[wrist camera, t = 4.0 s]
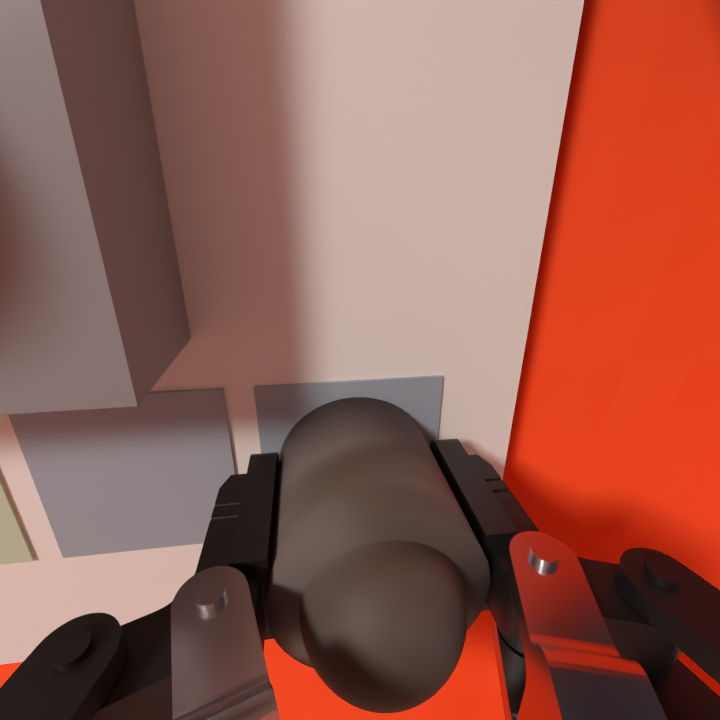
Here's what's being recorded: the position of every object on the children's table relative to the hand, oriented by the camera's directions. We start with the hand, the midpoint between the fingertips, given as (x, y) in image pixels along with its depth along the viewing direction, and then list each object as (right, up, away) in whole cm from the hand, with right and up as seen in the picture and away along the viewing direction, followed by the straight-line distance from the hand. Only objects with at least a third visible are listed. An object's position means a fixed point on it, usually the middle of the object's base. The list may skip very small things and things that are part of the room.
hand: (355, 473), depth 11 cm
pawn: (0, 0, 0) cm, 0 cm away
